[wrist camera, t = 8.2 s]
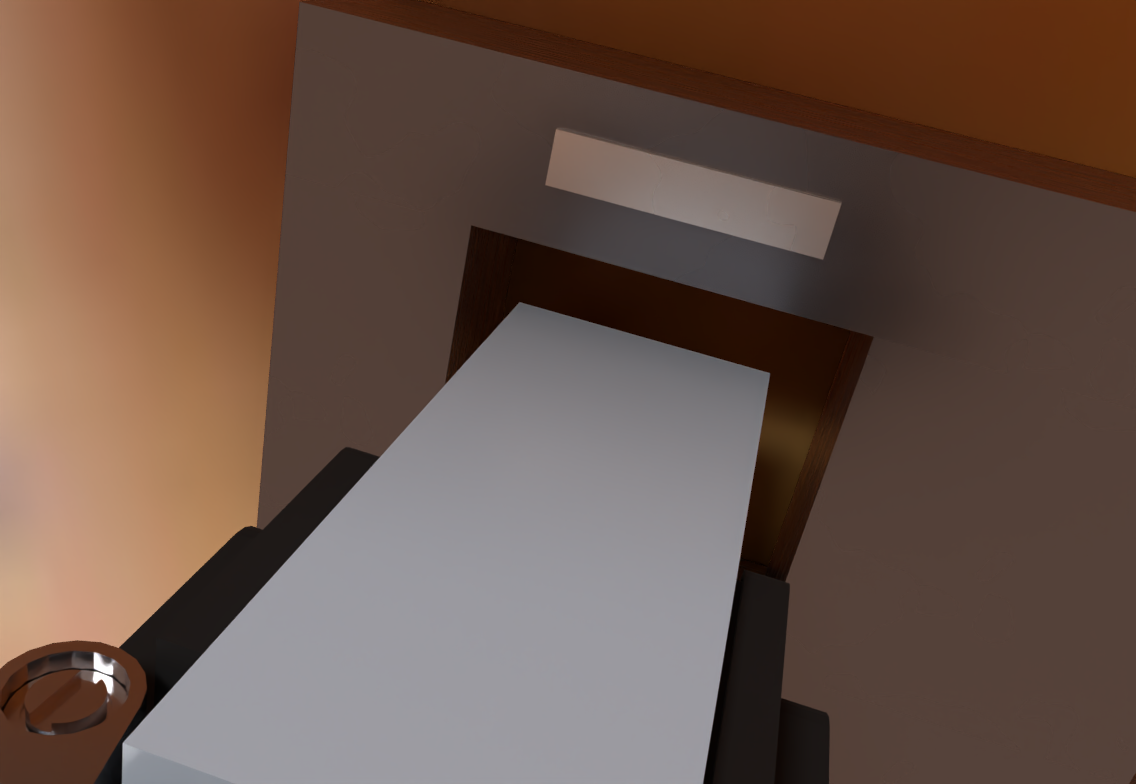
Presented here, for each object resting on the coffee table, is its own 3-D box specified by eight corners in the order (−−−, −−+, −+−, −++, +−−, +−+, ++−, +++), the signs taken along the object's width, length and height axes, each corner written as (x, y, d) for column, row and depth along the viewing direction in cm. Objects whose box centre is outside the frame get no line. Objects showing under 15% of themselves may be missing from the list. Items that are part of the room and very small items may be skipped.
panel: (2028, 398, 14) (2317, 511, 11) (1535, 929, 19) (1654, 1099, 16) (384, -8, 17) (296, 1, 14) (322, 532, 22) (247, 616, 19)
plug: (770, 373, 16) (676, 942, 7) (690, 622, 18) (538, 1312, 9) (519, 302, 16) (123, 743, 7) (470, 552, 18) (115, 1135, 9)
